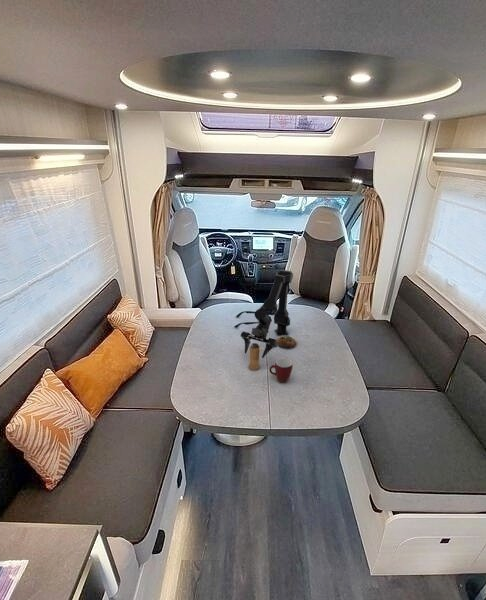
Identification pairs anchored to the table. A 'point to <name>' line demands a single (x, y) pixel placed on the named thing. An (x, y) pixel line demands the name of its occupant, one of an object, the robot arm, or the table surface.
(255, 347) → the pepper mill
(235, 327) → the glasses
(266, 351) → the robot arm
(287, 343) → the bread roll
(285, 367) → the mug
